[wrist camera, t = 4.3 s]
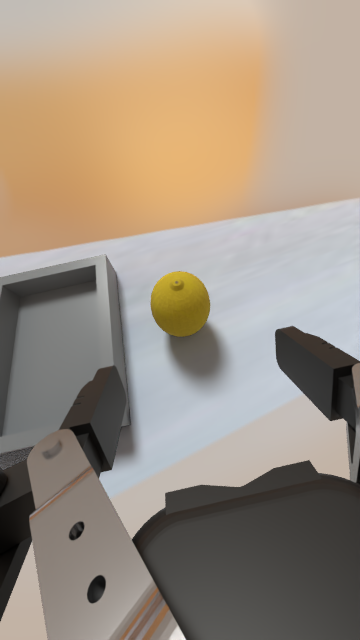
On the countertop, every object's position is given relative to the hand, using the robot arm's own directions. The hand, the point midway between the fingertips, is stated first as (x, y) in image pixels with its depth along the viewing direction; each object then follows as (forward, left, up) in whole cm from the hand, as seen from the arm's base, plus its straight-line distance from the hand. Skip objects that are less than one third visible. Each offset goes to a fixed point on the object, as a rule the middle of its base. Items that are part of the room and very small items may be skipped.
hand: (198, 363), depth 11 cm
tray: (-14, +7, -11) cm, 19 cm away
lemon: (0, +7, -11) cm, 14 cm away
